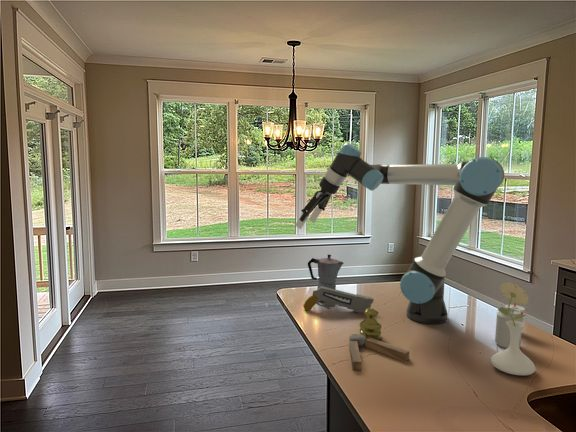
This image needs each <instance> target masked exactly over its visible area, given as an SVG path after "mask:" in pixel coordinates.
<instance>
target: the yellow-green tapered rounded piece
mask: <svg viewBox="0 0 576 432" xmlns="http://www.w3.org/2000/svg"><path fill="white" fill-rule="evenodd" d="M363 314H364V315H366V317H365V319H363V320H362V321H360V322H359V334H360V335H363V336H365V337H366V340H367V339H368V338H373V339H376V340H379V341H380V339H381V338H382V327H383V326H382V324H381V322H379V321H378V320H377V319H376V316H378V315H379V311H378V310H377V309H376V308H374V307H370V308H368V309H365V310H364V313H363Z"/></svg>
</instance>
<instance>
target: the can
mask: <svg viewBox="0 0 576 432" xmlns="http://www.w3.org/2000/svg"><path fill="white" fill-rule="evenodd" d="M504 308H505V307H504ZM505 309H506V310H508V308H505ZM509 310H510V313H511V316H512V318H514V317H516V316H518V315H521V312H520V311H519V310H517V309H513V308H509ZM511 316H510V314H508V315H506V314H504V313H502V312H500V311H497V312H496V320H495V321H496V324H495V337H494V343H496V344H497V345H498V346H499V347H500V348H502V349H504V350H505V349H507V348H508V347H509V345H510V330H509V327H508V325H507V324H506V322H507V321H512V319H511ZM523 319H524V317H522V318H519V319H513V320H514V321H518V322H522V323H524V322H523ZM522 333H523V332H521V334H520V338H519V348H520V347H521V345H522Z"/></svg>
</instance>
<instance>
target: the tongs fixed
mask: <svg viewBox="0 0 576 432" xmlns="http://www.w3.org/2000/svg"><path fill="white" fill-rule="evenodd" d="M348 340H349V342H348V345H349V346H348V349H349V353H350V354H349V355H350V361H351V366H352V367H351V368H352V370H353V371H354V370H355V371H361V370H362V359H361V353H360V349H363V348H366V337H365V336H363V335H360V333H358V334H357V333H355V334H350V335H349V337H348Z"/></svg>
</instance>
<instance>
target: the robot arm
mask: <svg viewBox="0 0 576 432" xmlns="http://www.w3.org/2000/svg"><path fill="white" fill-rule="evenodd" d="M361 155H362V151H361V150H360V149H359V148H358V147H356V146H355V145H353V144H351V143H349V142H347V143H344V144H343V145H342V147H340V149H339V150H338V151H337V154H336V155H335V157H334V159H333V161H332V162H331V164H330V166H328V167H327V168H326V171H325V174H324V176H323V177H322V178H321V179H320V181H319V183H318V184H319V187H320V188H321V189H320V190H317V191H316V192H315V194H314V195H313V196H312V197H311V199H309V202H307V204H306V205H305V206H304V208H303V209H300V210H301V211H300V212H302V213H301V215H300V217H299V218H298V219H297V221H296V223H295V225H294V226H296V228H298V229H299V230H301V229H302V228H303V226H304V225H305V223H306V222H307V221H308V220H309V221H310V222H311V223H312V224H314V223H315V222H316V221H317V219H318V217H319V216H320V215H321V213H322V211H323V212H324V211H325V210H326V208H327V205H328V204H329V201H330V199H331V197H332V195H336V193H337V192H338V191H339V189H340V186H342V184H343V183H344V182H345V179H346V178H347V177H348V176H349V177H351V178H352V179H354V180H355V181H356V182H358V183H359V184H360V185H362V186H363V187H364V188H366V189H368V191H374V190H376V189H377V188H379V186H380V185H389V184H390V185H419V186H420V185H426V186H454V187H453V190H452V191H453V193H454V197H453V199H452V200H451V203H450V204H449V205H448V208H447V210H446V211H445V212H444V215H443V216H442V219H441V220H440V222H439V224H438V225H437V228H435V231H434V232H433V234H432V236H431V238H430V239H429V242H427V245H426V247H425V249H424V250H423V252H422V253H421V255H420V256H416V257H414V258H413V261H412V263H411V265H410V266H409V268H408V270H407V272H406V273H404V274H403V275H402V277H401V279H400V282H399V287H400V291H401V293H402V294H401V295H403V296H404V298H405V299H406V300H407V301H409V302H408V305H407V307H406V313H405V314H406V317H408V318H409V319H410V320H412V321H415V322H419V323H421V324H423V323H424V324H429V325H431V324H433V325H436V324H443V323H445V322H447V321H448V311H447V307H446V304H445V303H446V302H445V299H444V297H445V281H446V278H445V277H446V276H447V272H446V269H447V268H446V267H447V265H448V263H449V261H450V259H451V258H452V256H453V254H454V253H455V251H456V249H457V248H458V246H459V244H460V242H461V241H462V239H463V237H464V236H465V234H466V232H467V230H468V229H469V227H471V226H470V225H471V224H472V222H473V220H474V219H475V217H476V216H477V213H478V212H479V210H480V209H481V208H482V207H486V206H488V205H489V203H490V201H491V199H492V198H493V196H494V195H495V193H496V191H497V189H499V187H500V186H501V185H502V183H503V182H504V179H505V170H504V167H503V166H502V164H501V163H500V162H498V161H497V160H496V159H494V158H491V157H490V158H489V157H487V156H481V157H480V156H478V157H475V158H472V159H470V160H469V161H468V160H467V161H466V160H465V161H461V162H460V163H459V164H458V163H454V164H453V163H451V164H450V163H449V164H446V163H445V164H444V163H443V164H442V163H441V164H439V163H438V164H435V163H434V164H429V163H428V164H427V163H426V164H422V163H421V164H420V163H419V164H418V163H417V164H369V163H368V162H367V161H365V159H364V160H363V158H361Z"/></svg>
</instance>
